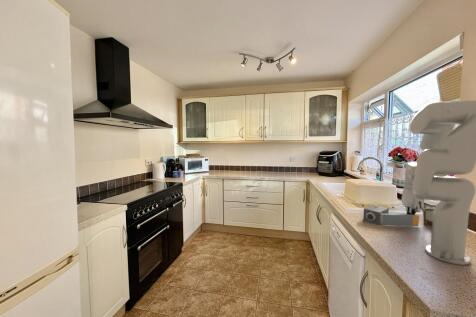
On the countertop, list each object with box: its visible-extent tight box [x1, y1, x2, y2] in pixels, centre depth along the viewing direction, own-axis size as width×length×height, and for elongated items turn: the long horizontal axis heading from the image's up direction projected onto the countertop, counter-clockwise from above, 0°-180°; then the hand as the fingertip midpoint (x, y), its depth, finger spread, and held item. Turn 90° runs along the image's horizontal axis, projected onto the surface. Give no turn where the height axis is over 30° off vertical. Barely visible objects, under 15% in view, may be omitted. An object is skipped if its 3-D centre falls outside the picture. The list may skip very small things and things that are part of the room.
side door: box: [379, 213, 420, 227], centre depth 110 cm, size 18×1×6 cm, turn 84°
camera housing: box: [362, 204, 390, 226], centre depth 118 cm, size 14×8×8 cm, turn 126°
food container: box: [420, 204, 437, 227], centre depth 113 cm, size 12×6×10 cm, turn 84°
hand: (410, 219), depth 112 cm, fingers closed
